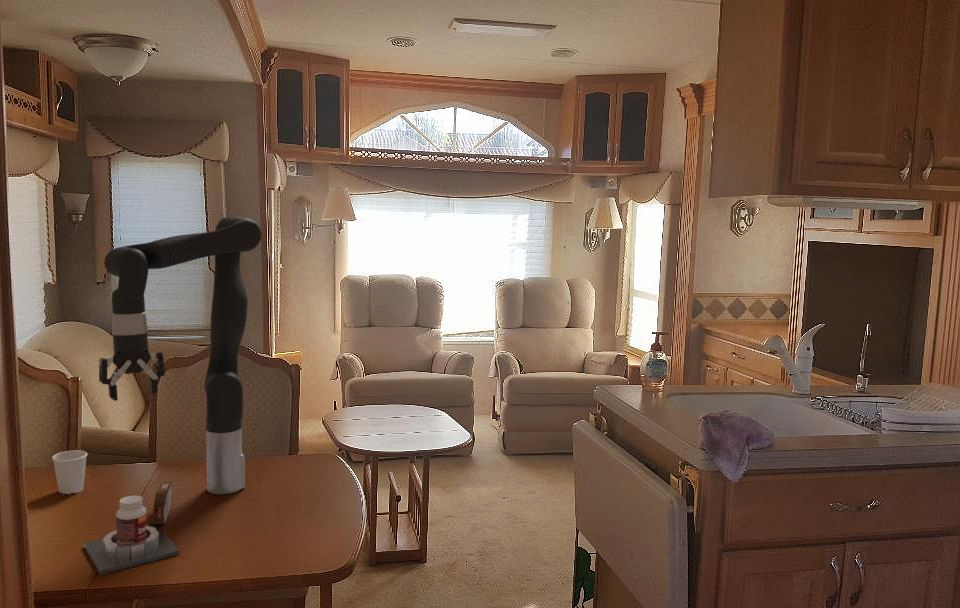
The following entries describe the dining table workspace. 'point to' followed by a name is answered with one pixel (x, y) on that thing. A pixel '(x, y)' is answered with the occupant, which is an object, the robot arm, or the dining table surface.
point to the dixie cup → (70, 470)
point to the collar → (129, 551)
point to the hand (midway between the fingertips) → (133, 397)
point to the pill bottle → (131, 520)
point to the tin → (162, 502)
